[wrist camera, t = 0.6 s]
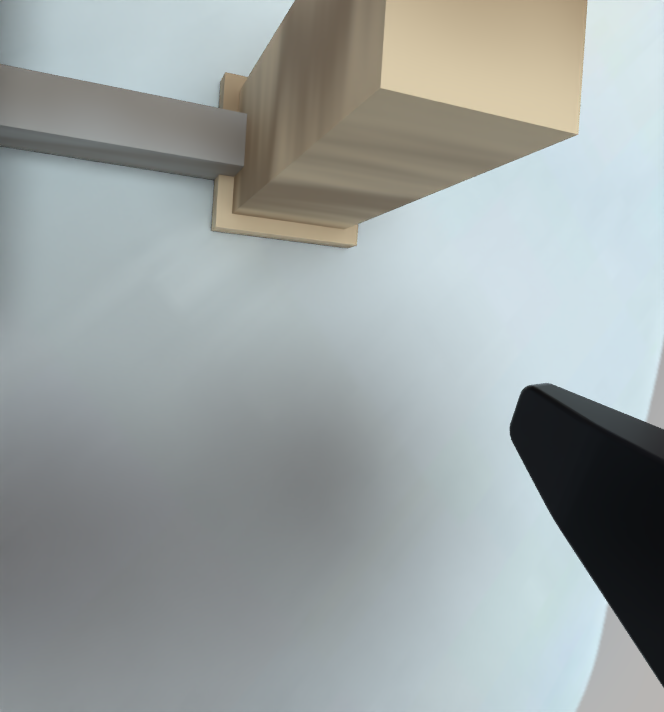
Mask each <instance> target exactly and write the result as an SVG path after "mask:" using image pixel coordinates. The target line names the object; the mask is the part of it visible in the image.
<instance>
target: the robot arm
mask: <svg viewBox="0 0 664 712" xmlns="http://www.w3.org/2000/svg"><path fill="white" fill-rule="evenodd" d="M510 436H511V440H512V442H513V444H514V446H515V448H516V450H517V452H518V454H519V455H520V457H521V459H522V461H523V463H524V465H525V467H526V469H527V471H528V472H529V474H530V476H531V478H532V480H533V482H534V484H535V486H536V488H537V490H538V491H539V493H540V495H541V497H542V499H543V501H544V503H545V505H546V507H547V508H548V510H549V512H550V514H551V516H552V517H553V519H554V521H555V522H556V524H557V525H558V527H559V529H560V530H561V532H562V533H563V535H564V536H565V538H566V539H567V541H568V543H569V544H570V546H571V547H572V549H573V550H574V552H575V553H576V555H577V556H578V558H579V559H580V561H581V562H582V564H583V565H584V567H585V568H586V570H587V572H588V573H589V575H590V576H591V578H592V579H593V581H594V582H595V584H596V585H597V587H598V588H599V590H600V591H601V593H602V594H603V596H604V597H605V599H606V601H607V602H608V604H609V605H610V607H611V608H612V610H613V611H614V613H615V614H616V616H617V617H618V619H619V620H620V622H621V623H622V625H623V626H624V628H625V629H626V631H627V632H628V634H629V635H630V637H631V639H632V640H633V642H634V643H635V645H636V646H637V648H638V649H639V651H640V652H641V654H642V655H643V657H644V658H645V660H646V662H647V663H648V665H649V666H650V668H651V669H652V671H653V672H654V674H655V675H656V677H657V678H658V680H659V681H660V683H661V684H662V686H663V687H664V429H661V428H659V427H656V426H654V425H651V424H649V423H646V422H644V421H642V420H639V419H637V418H634V417H632V416H629V415H627V414H624V413H622V412H619V411H617V410H614V409H612V408H609V407H607V406H605V405H602V404H600V403H597V402H595V401H592V400H590V399H587V398H585V397H582V396H580V395H577V394H575V393H573V392H570V391H568V390H565V389H563V388H560V387H558V386H555V385H553V384H549V383H542V384H535V385H529V386H527V387H525V388H524V389H523V390H522V391H521V394H520V396H519V399H518V402H517V405H516V408H515V411H514V414H513V417H512V420H511V423H510Z"/></svg>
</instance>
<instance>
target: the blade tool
mask: <svg viewBox="0 0 664 712" xmlns="http://www.w3.org/2000/svg"><path fill="white" fill-rule="evenodd" d="M586 15H587V0H295V1H294V3H293V5H292V6H291V8H290V9H289V11H288V13H287V14H286V16H285V18H284V19H283V21H282V23H281V24H280V26H279V27H278V29H277V31H276V32H275V34H274V36H273V37H272V39H271V40H270V42H269V44H268V45H267V47H266V49H265V50H264V52H263V54H262V55H261V57H260V58H259V60H258V62H257V63H256V65H255V67H254V68H253V70H252V71H251V73H250V75H249V76H248V77H244V76H240V75H235V74H231V73H226V72H225V74H224V76H223V78H222V80H221V82H220V98H219V108H216V107H211V106H206V105H201V104H196V103H191V102H186V101H181V100H176V99H171V98H166V97H162V96H157V95H152V94H147V93H142V92H137V91H132V90H127V89H122V88H117V87H112V86H107V85H102V84H97V83H92V82H87V81H82V80H77V79H72V78H67V77H62V76H57V75H52V74H47V73H42V72H37V71H32V70H27V69H22V68H18V67H13V66H8V65H3V64H0V146H3V147H9V148H16V149H22V150H28V151H34V152H41V153H47V154H53V155H60V156H66V157H72V158H79V159H85V160H91V161H98V162H104V163H110V164H116V165H123V166H129V167H135V168H142V169H148V170H154V171H161V172H167V173H173V174H179V175H186V176H192V177H198V178H205V179H211V180H214V195H213V211H212V227H211V231H218V232H226V233H234V234H241V235H249V236H257V237H265V238H273V239H280V240H288V241H296V242H304V243H311V244H319V245H327V246H335V247H342V248H350V247H353V246H356V245H357V233H358V224H359V223H362V222H364V221H366V220H369V219H371V218H374V217H376V216H379V215H381V214H384V213H386V212H389V211H391V210H394V209H396V208H398V207H401V206H403V205H406V204H408V203H411V202H413V201H416V200H418V199H421V198H423V197H426V196H428V195H430V194H433V193H435V192H438V191H440V190H443V189H445V188H448V187H450V186H453V185H455V184H458V183H460V182H462V181H465V180H467V179H470V178H472V177H475V176H477V175H480V174H482V173H485V172H487V171H490V170H492V169H494V168H497V167H499V166H502V165H504V164H507V163H509V162H512V161H514V160H517V159H519V158H522V157H524V156H526V155H529V154H531V153H534V152H536V151H539V150H541V149H544V148H546V147H549V146H551V145H554V144H556V143H558V142H561V141H563V140H566V139H568V138H571V137H573V136H576V135H578V129H579V115H580V101H581V86H582V72H583V58H584V43H585V29H586Z"/></svg>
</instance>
